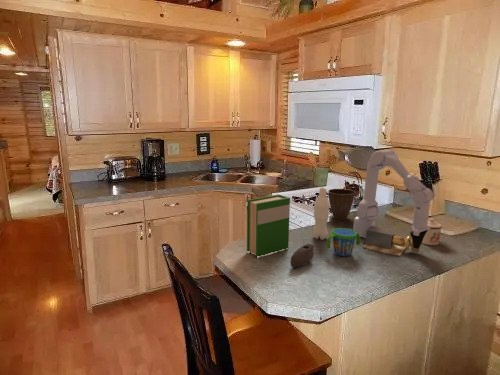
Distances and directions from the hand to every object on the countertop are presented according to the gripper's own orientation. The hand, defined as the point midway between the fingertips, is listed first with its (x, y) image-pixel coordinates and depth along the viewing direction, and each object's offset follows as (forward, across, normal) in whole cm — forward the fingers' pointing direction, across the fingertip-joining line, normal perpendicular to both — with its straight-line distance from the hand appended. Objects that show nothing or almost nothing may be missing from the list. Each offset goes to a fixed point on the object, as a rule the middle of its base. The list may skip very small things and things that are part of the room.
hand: (417, 246), depth 151 cm
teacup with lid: (+4, +20, -3) cm, 21 cm away
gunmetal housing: (+3, 0, +15) cm, 16 cm away
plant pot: (+4, +30, +46) cm, 55 cm away
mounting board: (+3, 0, +13) cm, 14 cm away
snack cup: (+4, -19, +26) cm, 33 cm away
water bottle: (+4, -7, +42) cm, 43 cm away
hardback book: (+4, -36, +54) cm, 65 cm away
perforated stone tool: (+4, -39, +36) cm, 53 cm away
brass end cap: (+2, 0, +6) cm, 7 cm away
